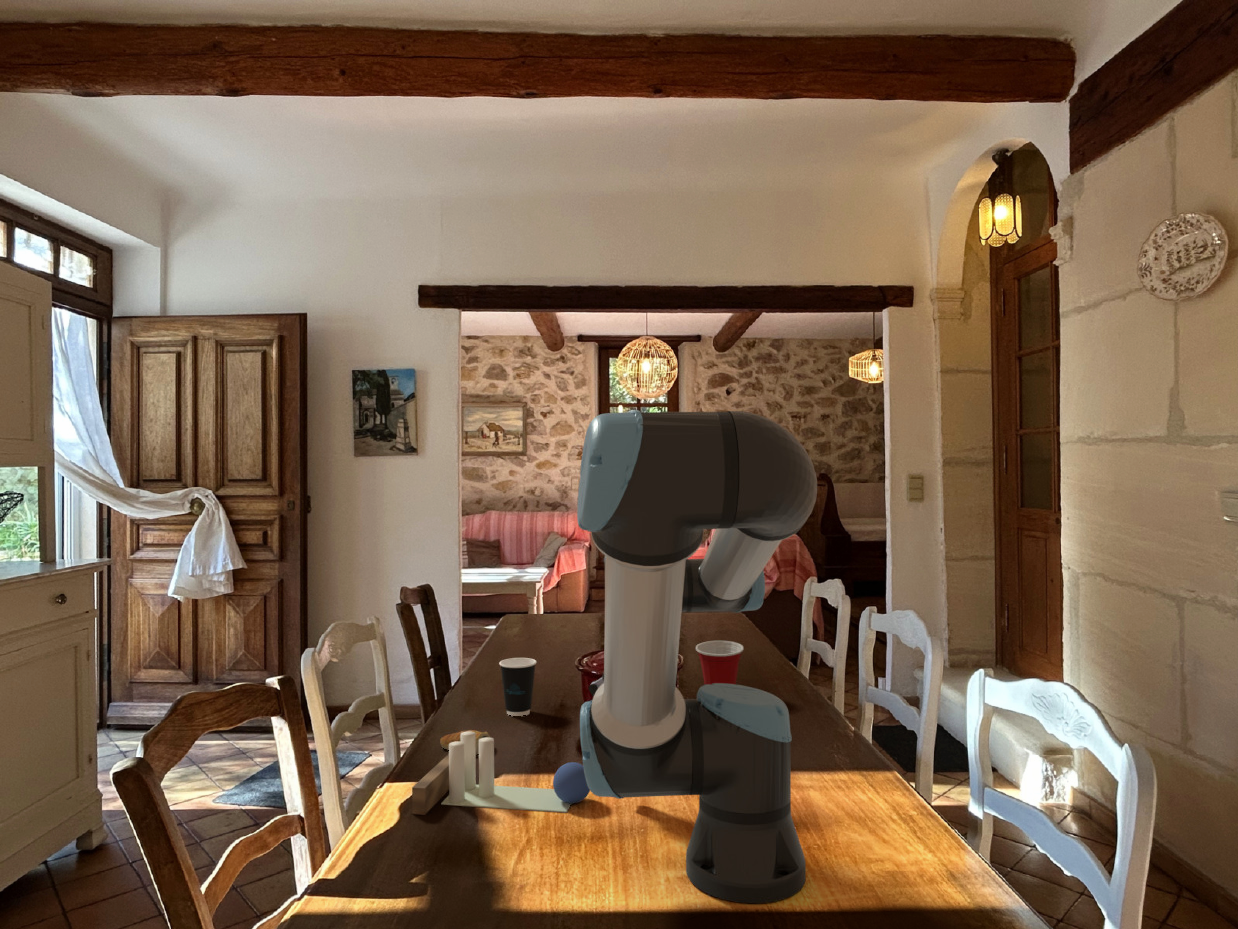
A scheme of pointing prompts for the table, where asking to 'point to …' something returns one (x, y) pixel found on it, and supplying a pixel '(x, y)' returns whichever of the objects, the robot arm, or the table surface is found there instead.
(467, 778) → the pin rear left
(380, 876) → the table surface
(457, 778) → the pin rear right
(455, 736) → the pastry
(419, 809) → the wall
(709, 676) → the plastic cup
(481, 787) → the pin front
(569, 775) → the ball
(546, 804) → the strip
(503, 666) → the dixie cup
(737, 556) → the robot arm
